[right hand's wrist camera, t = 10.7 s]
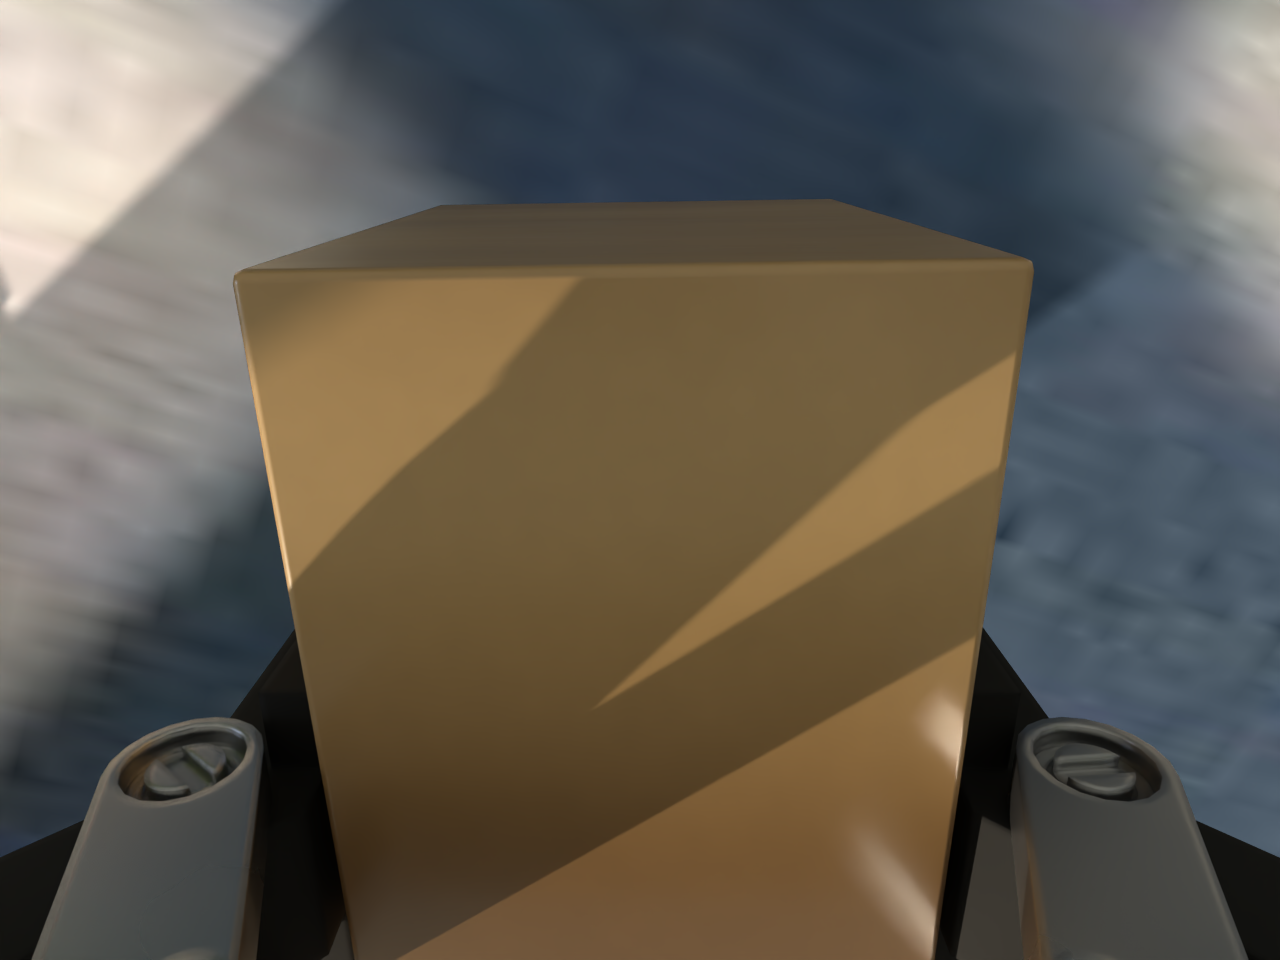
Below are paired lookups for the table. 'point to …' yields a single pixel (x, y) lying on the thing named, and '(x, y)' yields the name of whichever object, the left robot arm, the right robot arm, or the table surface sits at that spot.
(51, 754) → the table surface
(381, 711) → the bar
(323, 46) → the table surface
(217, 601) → the table surface
